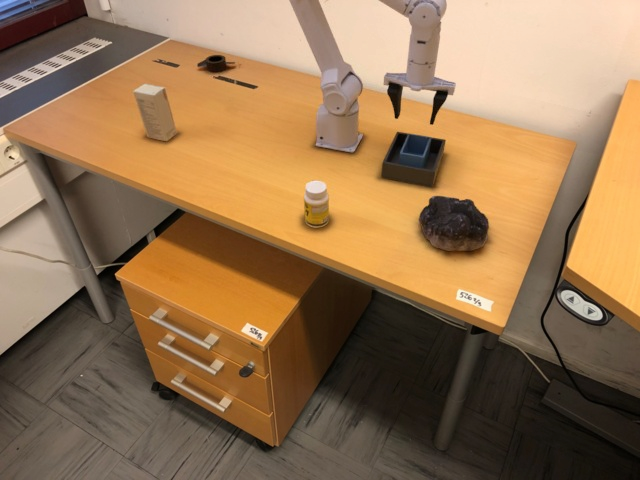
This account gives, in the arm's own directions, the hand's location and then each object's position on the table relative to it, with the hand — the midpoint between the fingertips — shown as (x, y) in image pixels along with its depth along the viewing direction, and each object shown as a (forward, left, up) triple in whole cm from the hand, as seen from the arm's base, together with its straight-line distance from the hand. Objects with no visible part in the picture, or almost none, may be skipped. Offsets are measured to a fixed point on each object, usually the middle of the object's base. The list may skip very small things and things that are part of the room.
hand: (414, 119), depth 112 cm
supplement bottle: (-12, -28, -10) cm, 32 cm away
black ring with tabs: (-64, +28, -10) cm, 71 cm away
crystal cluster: (+14, -23, -10) cm, 29 cm away
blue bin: (+2, -4, -9) cm, 10 cm away
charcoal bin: (+2, -4, -9) cm, 10 cm away
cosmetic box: (-59, -10, -10) cm, 61 cm away
